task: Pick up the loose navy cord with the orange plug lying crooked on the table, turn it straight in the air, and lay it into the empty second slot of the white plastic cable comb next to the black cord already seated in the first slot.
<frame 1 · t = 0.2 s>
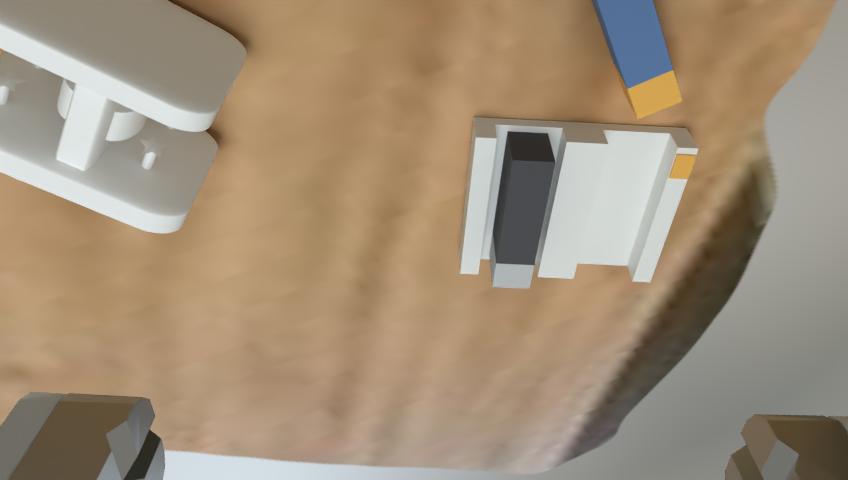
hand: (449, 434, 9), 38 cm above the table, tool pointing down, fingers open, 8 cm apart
cable organizer: (140, 53, 46), on the table
cable comb: (564, 193, 53), on the table
navy cord: (620, 9, 44), on the table
black cord: (516, 198, 52), point 1 cm above the table, touching cable comb
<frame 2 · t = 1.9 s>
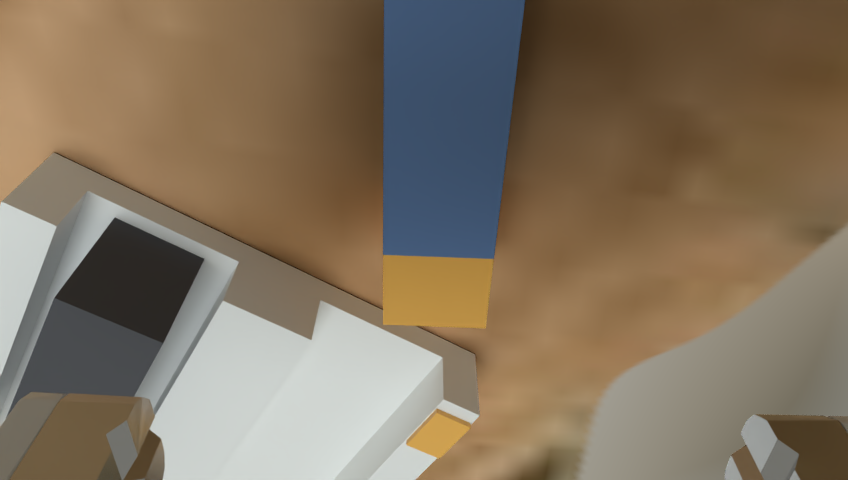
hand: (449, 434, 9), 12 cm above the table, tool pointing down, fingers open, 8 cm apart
cable comb: (215, 375, 26), on the table
navy cord: (443, 79, 19), on the table
black cord: (104, 353, 24), point 1 cm above the table, touching cable comb
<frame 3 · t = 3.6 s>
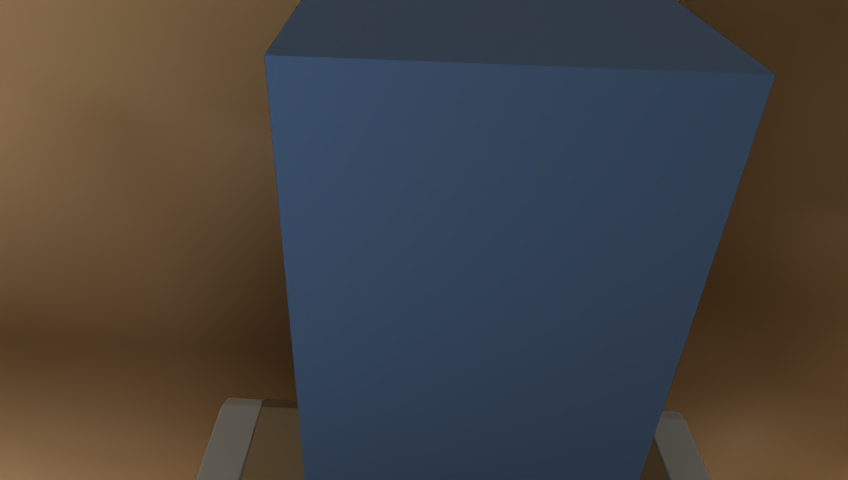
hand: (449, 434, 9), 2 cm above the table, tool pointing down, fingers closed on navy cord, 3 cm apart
navy cord: (446, 355, 10), on the table, touching gripper
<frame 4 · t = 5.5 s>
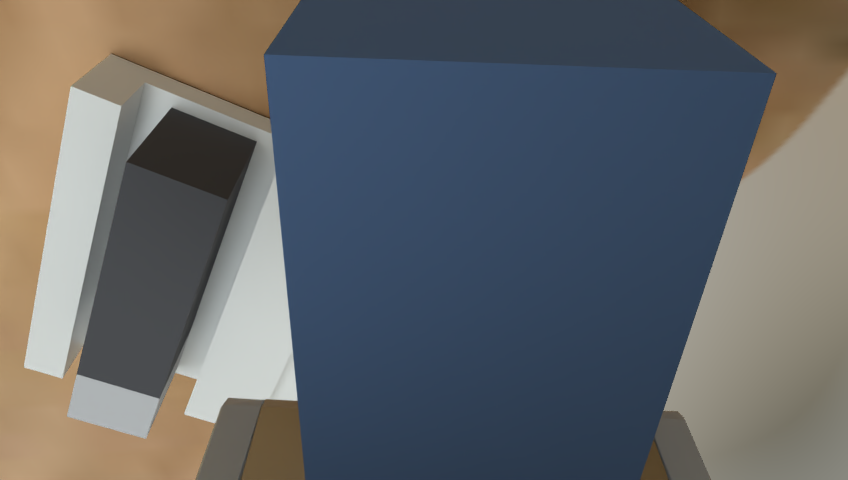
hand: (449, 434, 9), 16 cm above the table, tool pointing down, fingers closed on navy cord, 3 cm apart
cable comb: (278, 273, 27), on the table
navy cord: (447, 354, 10), point 14 cm above the table, touching gripper
black cord: (175, 253, 26), point 1 cm above the table, touching cable comb
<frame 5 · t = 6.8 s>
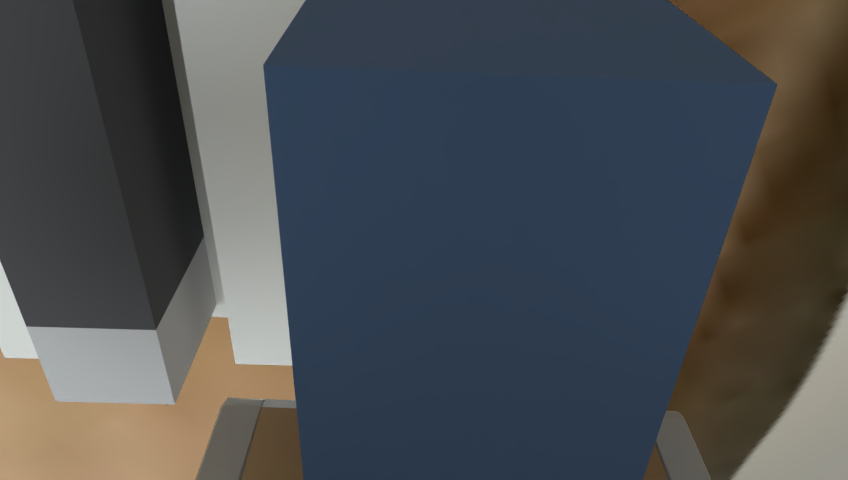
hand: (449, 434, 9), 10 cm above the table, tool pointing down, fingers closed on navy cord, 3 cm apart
cable comb: (288, 109, 18), on the table
navy cord: (446, 359, 10), point 9 cm above the table, touching gripper
black cord: (124, 119, 17), point 1 cm above the table, touching cable comb
when the fingers open (5 cm above the table, at t = 7.8 s): navy cord drops 3 cm, resting on cable comb.
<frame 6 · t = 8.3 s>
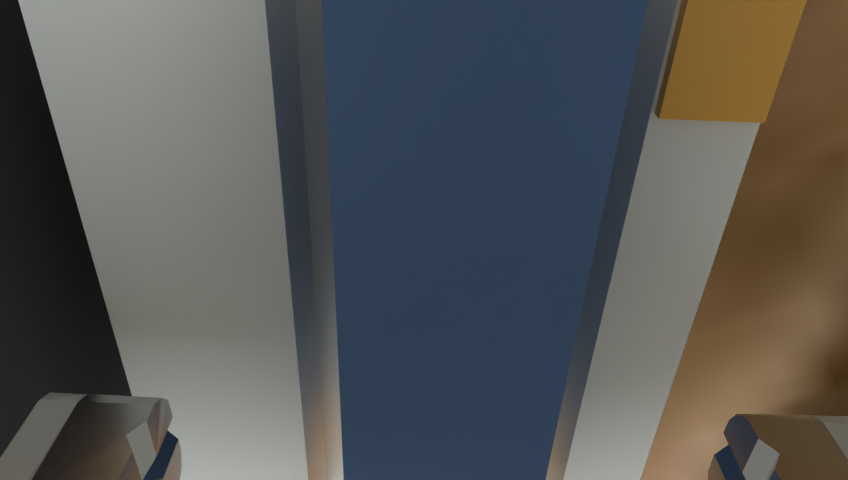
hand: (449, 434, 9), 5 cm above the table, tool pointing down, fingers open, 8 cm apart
cable comb: (245, 230, 13), on the table
navy cord: (442, 265, 13), point 1 cm above the table, touching cable comb
black cord: (21, 251, 12), point 1 cm above the table, touching cable comb
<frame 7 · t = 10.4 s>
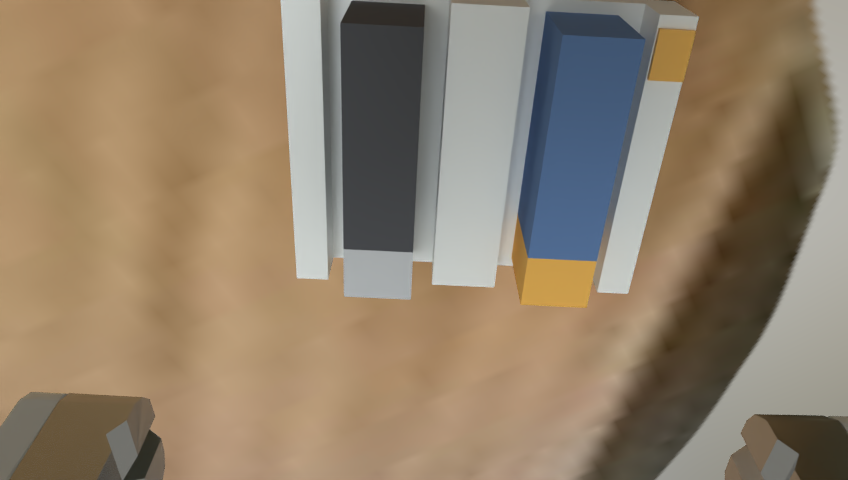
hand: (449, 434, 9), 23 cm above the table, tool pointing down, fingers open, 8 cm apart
cable comb: (471, 135, 31), on the table
navy cord: (559, 148, 30), point 1 cm above the table, touching cable comb
black cord: (385, 139, 30), point 1 cm above the table, touching cable comb
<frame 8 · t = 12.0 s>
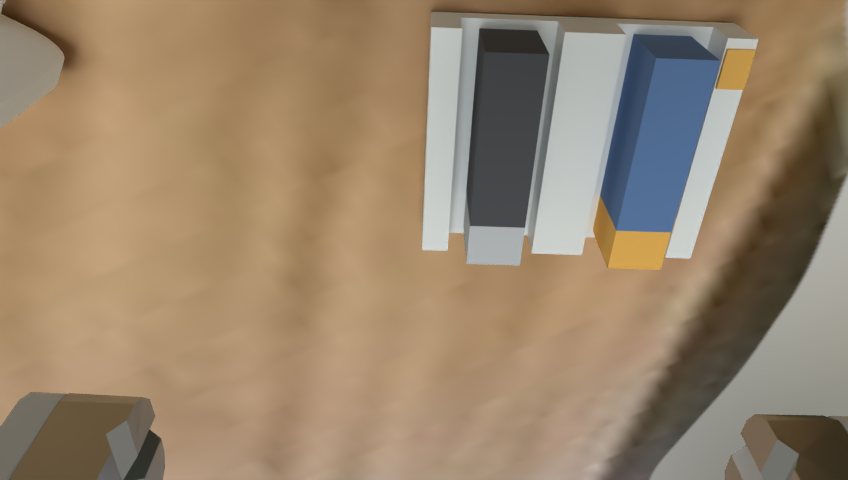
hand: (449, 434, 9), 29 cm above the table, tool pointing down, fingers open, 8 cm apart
cable comb: (564, 132, 38), on the table
navy cord: (637, 141, 37), point 1 cm above the table, touching cable comb
black cord: (497, 136, 37), point 1 cm above the table, touching cable comb
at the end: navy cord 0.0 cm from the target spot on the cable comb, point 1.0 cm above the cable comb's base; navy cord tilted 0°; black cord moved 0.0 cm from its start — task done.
